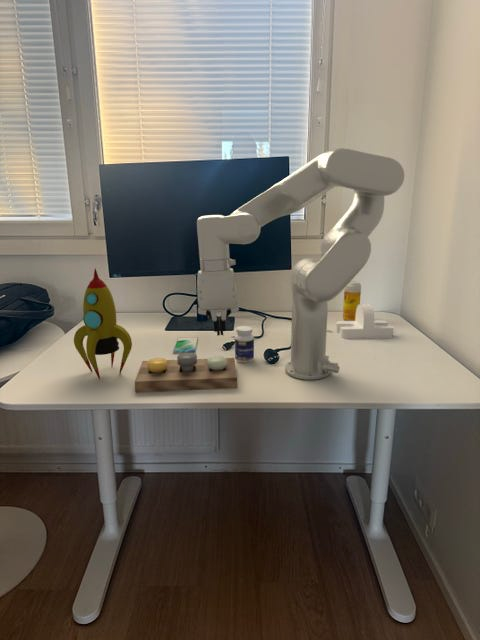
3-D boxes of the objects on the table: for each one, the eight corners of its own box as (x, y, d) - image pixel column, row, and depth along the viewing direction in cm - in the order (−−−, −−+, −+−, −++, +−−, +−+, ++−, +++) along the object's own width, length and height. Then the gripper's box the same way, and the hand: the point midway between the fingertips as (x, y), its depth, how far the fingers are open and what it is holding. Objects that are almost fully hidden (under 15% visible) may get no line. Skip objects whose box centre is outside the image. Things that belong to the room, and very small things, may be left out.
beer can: (339, 318, 173) (341, 281, 169) (353, 317, 175) (355, 280, 171) (347, 323, 167) (350, 284, 163) (361, 321, 169) (364, 283, 165)
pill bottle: (237, 364, 129) (237, 331, 127) (232, 357, 135) (232, 326, 132) (256, 361, 131) (256, 330, 128) (250, 355, 136) (250, 324, 133)
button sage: (226, 371, 122) (226, 355, 121) (227, 379, 117) (227, 363, 116) (207, 372, 122) (207, 356, 121) (207, 380, 117) (207, 363, 116)
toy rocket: (91, 386, 116) (80, 274, 107) (76, 370, 126) (64, 266, 117) (135, 375, 123) (128, 268, 114) (117, 360, 133) (110, 262, 124)
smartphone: (198, 337, 152) (195, 352, 138) (198, 339, 152) (195, 355, 138) (177, 337, 152) (172, 352, 138) (177, 339, 152) (172, 355, 138)
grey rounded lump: (197, 368, 121) (197, 352, 120) (197, 376, 116) (196, 359, 115) (178, 369, 121) (177, 353, 120) (177, 376, 116) (176, 360, 115)
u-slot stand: (393, 338, 151) (396, 307, 148) (341, 339, 150) (343, 308, 147) (384, 329, 160) (386, 300, 157) (335, 330, 160) (336, 302, 157)
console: (234, 367, 127) (234, 357, 126) (237, 388, 113) (237, 377, 113) (143, 370, 125) (142, 360, 124) (135, 392, 112) (134, 381, 111)
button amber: (168, 373, 121) (167, 357, 120) (167, 381, 116) (166, 365, 115) (149, 374, 121) (148, 358, 120) (147, 382, 116) (145, 365, 115)
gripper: (243, 260, 115) (247, 327, 120) (186, 264, 114) (192, 331, 120) (245, 265, 108) (249, 336, 113) (184, 269, 107) (191, 340, 112)
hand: (220, 333), depth 116 cm, fingers closed
